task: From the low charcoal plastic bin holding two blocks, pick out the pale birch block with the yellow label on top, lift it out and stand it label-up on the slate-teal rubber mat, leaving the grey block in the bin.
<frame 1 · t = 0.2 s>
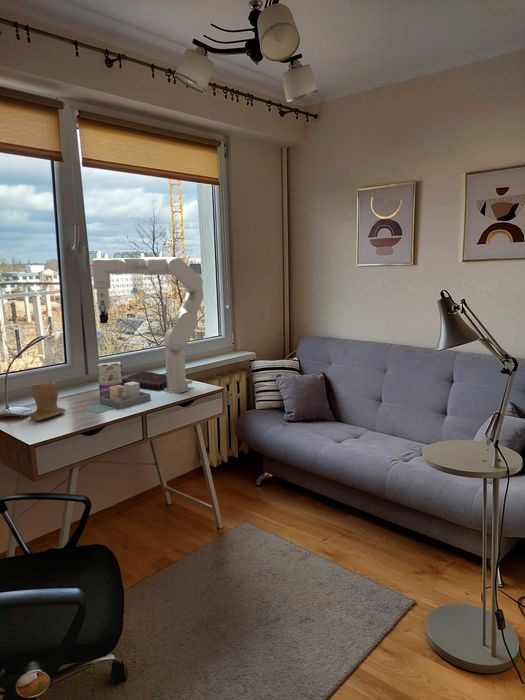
hand: (104, 321, 235), 37 cm above the table, tool pointing down, fingers open, 9 cm apart
labelled block: (118, 403, 229), resting on parts bin
diary: (150, 386, 264), on the table
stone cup: (46, 417, 213), on the table
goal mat: (99, 410, 221), on the table
parts bin: (125, 402, 232), on the table
candy bar box: (111, 396, 244), on the table
grey block: (132, 399, 235), resting on parts bin
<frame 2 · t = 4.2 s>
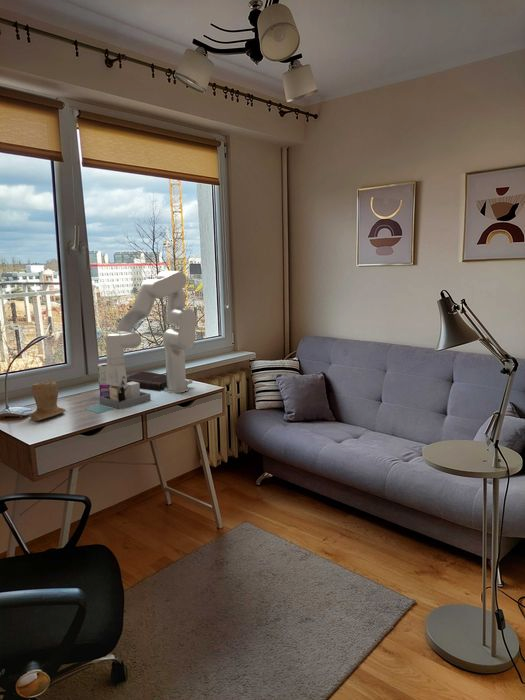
hand: (118, 399, 229), 3 cm above the table, tool pointing down, fingers closed on labelled block, 5 cm apart
labelled block: (118, 403, 229), point 1 cm above the table, touching gripper, parts bin
everything else where it was.
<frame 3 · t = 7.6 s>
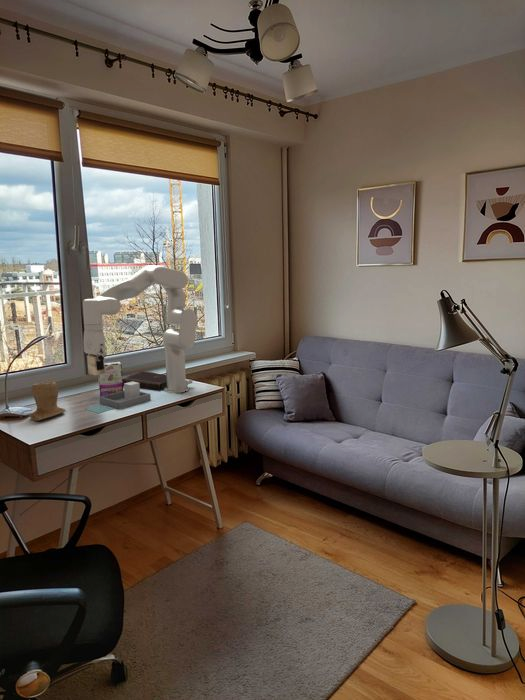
hand: (96, 368, 218), 19 cm above the table, tool pointing down, fingers closed on labelled block, 5 cm apart
labelled block: (96, 373, 218), point 17 cm above the table, touching gripper
everything else where it was.
when the fingers open (4 cm above the table, at t = 11.1 s): labelled block stays where it is, resting on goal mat.
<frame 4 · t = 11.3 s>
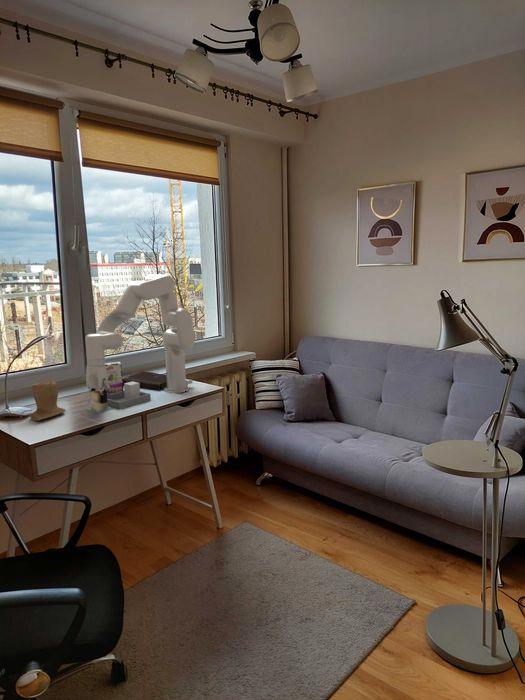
hand: (99, 401, 221), 4 cm above the table, tool pointing down, fingers open, 6 cm apart
labelled block: (99, 408, 221), point 1 cm above the table, touching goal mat
everything else where it was.
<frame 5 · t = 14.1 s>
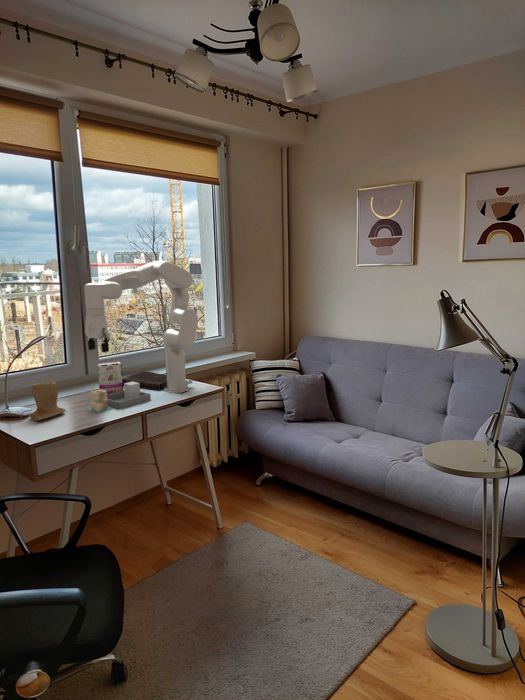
hand: (98, 350, 219), 26 cm above the table, tool pointing down, fingers open, 9 cm apart
nothing on the table moved.
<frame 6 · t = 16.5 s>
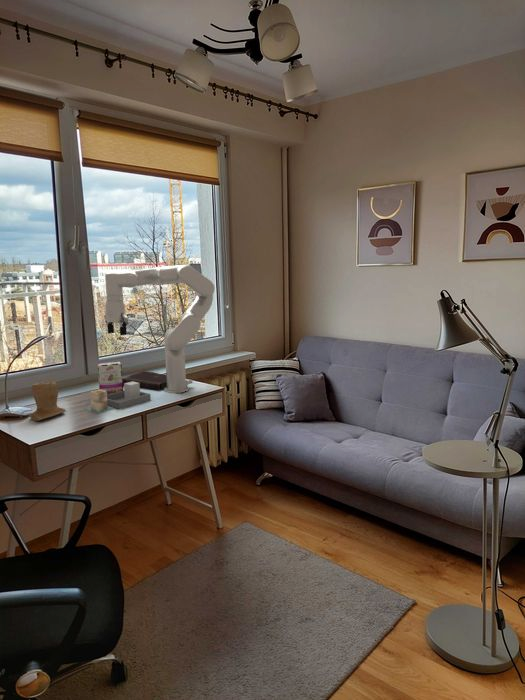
hand: (117, 334, 240), 30 cm above the table, tool pointing down, fingers open, 9 cm apart
nothing on the table moved.
at the end: labelled block inside the target area on the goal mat (0.1 cm from its centre), point 0.6 cm above the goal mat's base; labelled block tilted 0°; grey block moved 0.0 cm from its start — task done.
